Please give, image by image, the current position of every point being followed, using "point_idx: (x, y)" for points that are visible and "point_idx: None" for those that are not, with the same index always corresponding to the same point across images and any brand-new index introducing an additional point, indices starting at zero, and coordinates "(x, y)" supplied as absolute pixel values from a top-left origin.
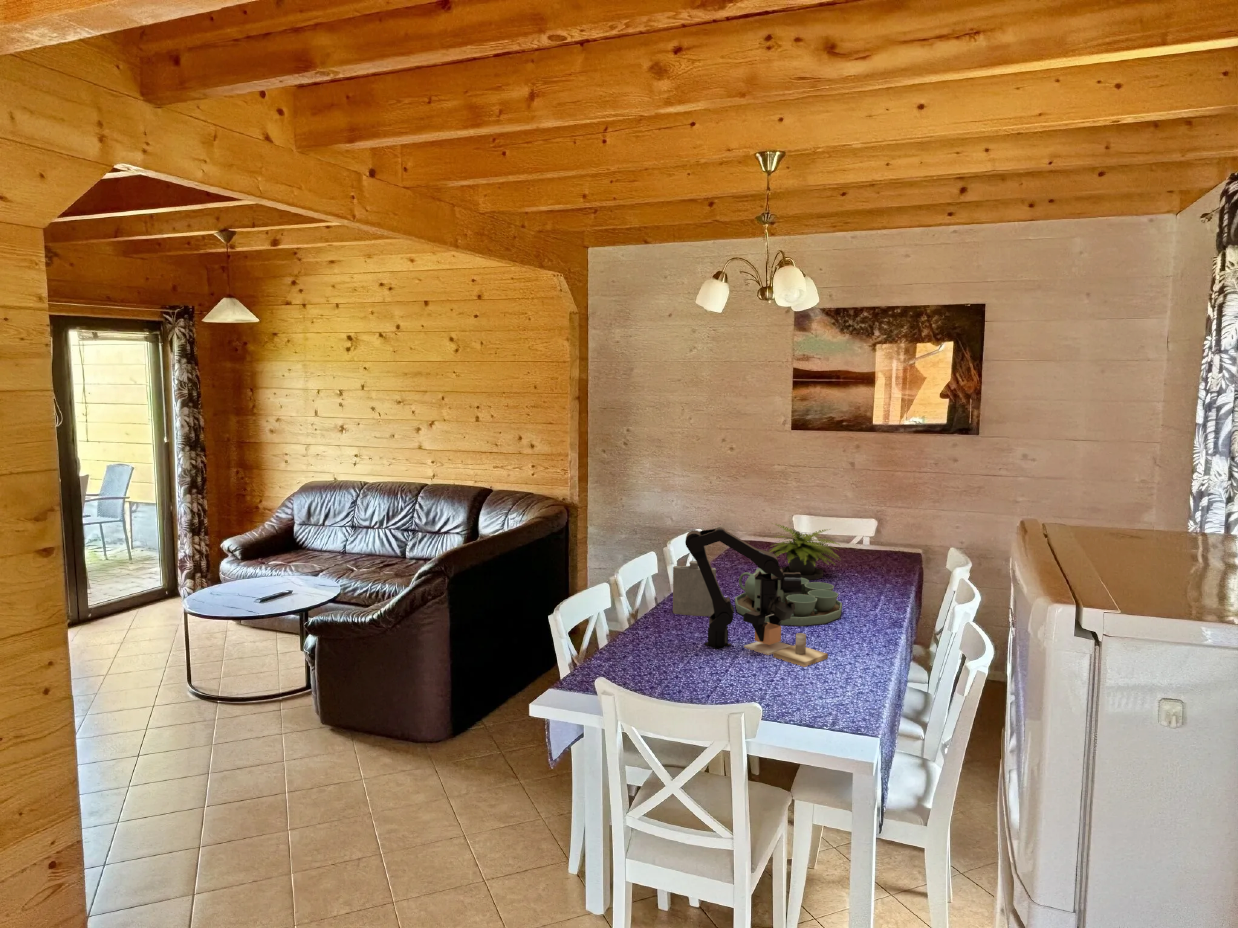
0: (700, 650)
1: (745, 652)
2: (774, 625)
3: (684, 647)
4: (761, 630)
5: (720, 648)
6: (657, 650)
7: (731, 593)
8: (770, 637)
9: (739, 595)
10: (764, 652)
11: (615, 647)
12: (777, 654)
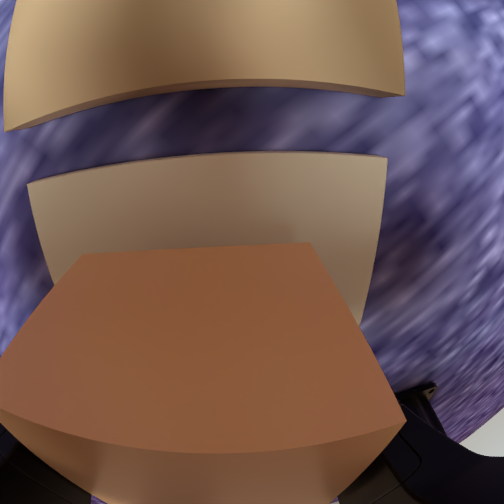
0: (456, 390)
1: (415, 306)
2: (79, 469)
3: (444, 417)
4: (428, 431)
5: (427, 385)
6: (478, 409)
7: None
8: (311, 297)
9: None
10: (381, 203)
11: (475, 429)
12: (397, 45)
